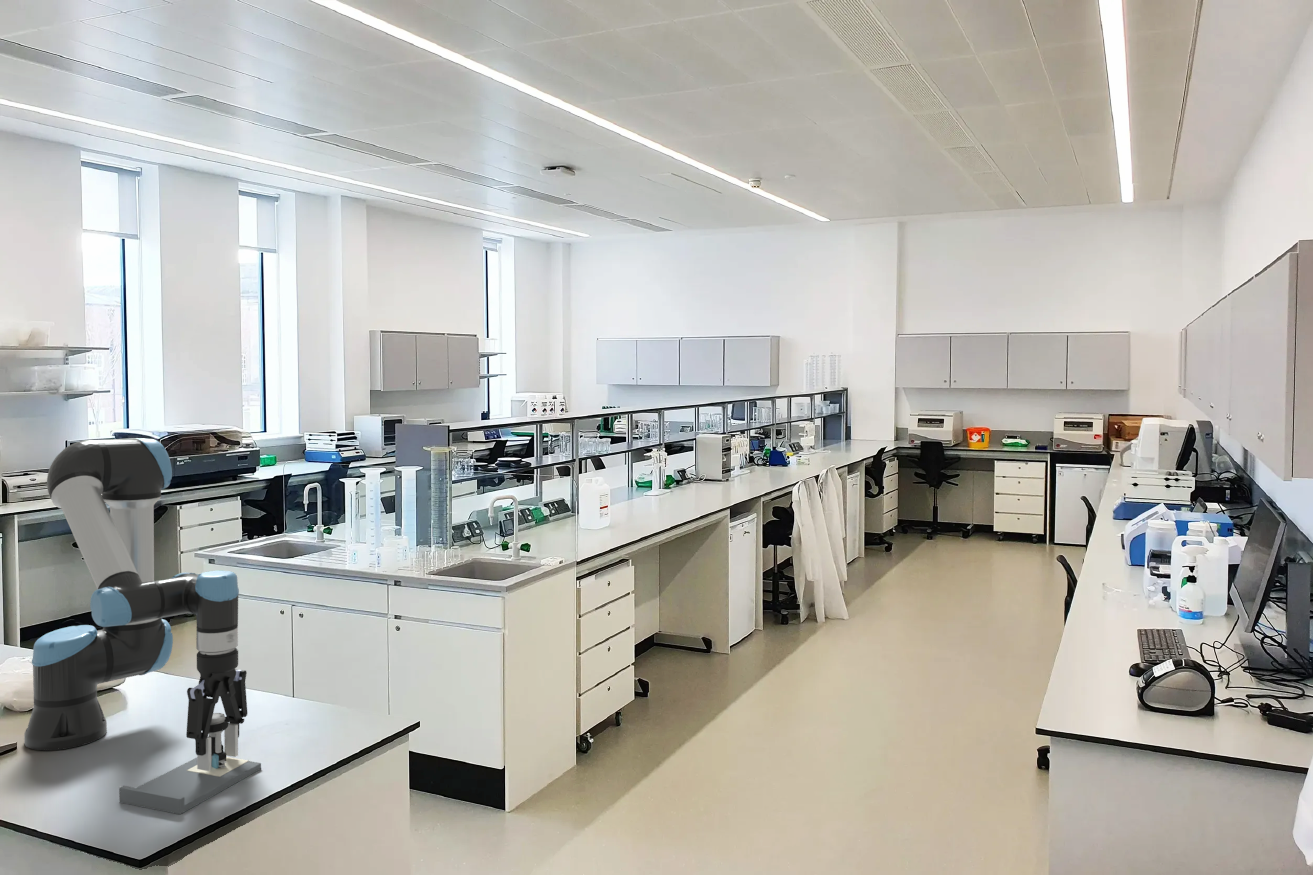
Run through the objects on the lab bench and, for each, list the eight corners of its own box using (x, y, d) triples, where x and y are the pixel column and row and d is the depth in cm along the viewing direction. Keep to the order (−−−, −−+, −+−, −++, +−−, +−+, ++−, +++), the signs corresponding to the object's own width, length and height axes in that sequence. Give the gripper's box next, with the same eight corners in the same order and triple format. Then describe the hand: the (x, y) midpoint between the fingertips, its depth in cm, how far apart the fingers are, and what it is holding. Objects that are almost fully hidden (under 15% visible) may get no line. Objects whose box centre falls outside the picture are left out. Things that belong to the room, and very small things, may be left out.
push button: (237, 766, 186) (237, 717, 186) (210, 774, 182) (210, 724, 182) (222, 756, 190) (221, 709, 190) (195, 764, 186) (195, 716, 186)
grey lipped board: (119, 802, 172) (119, 787, 172) (204, 758, 192) (204, 745, 192) (180, 814, 168) (180, 799, 168) (260, 768, 188) (260, 755, 188)
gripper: (195, 665, 175) (196, 784, 176) (267, 638, 193) (267, 746, 195) (163, 661, 177) (164, 778, 178) (237, 635, 195) (237, 741, 197)
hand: (218, 761), depth 186 cm, fingers open, 7 cm apart
